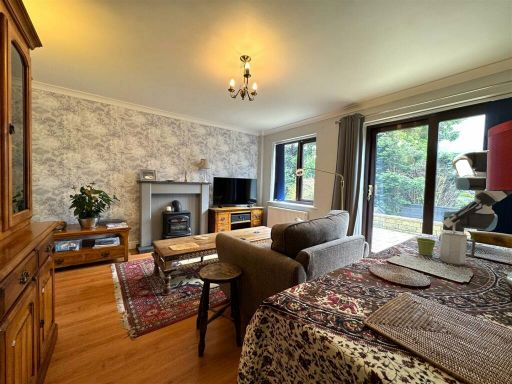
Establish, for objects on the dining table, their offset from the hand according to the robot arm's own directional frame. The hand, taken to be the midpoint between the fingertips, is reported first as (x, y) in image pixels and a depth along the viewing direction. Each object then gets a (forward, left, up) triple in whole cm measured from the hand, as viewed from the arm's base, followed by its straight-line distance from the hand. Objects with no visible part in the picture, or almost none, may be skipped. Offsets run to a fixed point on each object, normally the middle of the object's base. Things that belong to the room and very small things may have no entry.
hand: (444, 224), depth 120 cm
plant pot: (-6, -7, -20) cm, 22 cm away
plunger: (0, +4, -15) cm, 15 cm away
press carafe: (0, +5, -20) cm, 20 cm away
